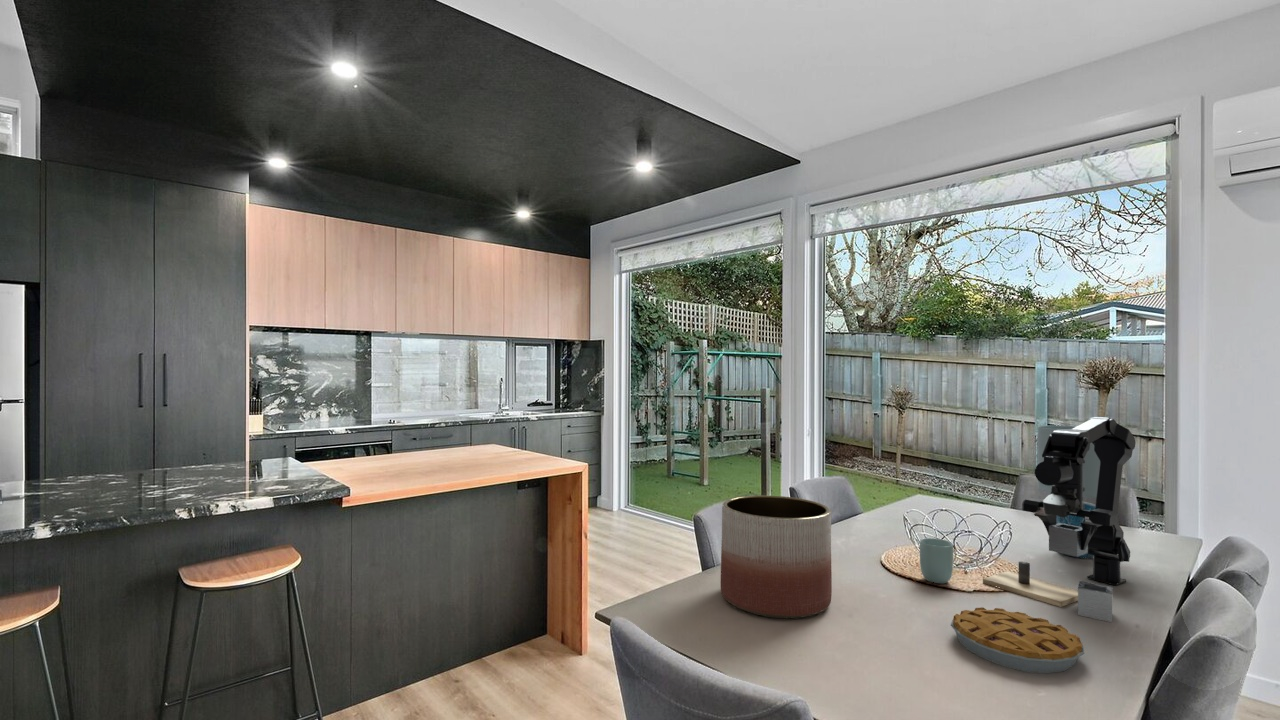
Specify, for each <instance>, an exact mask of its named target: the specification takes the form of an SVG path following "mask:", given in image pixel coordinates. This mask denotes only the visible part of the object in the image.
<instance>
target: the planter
mask: <svg viewBox="0 0 1280 720" xmlns="http://www.w3.org/2000/svg"><path fill="white" fill-rule="evenodd" d="M721 520H722V521H721V547H720V548H721V549H720V551H721V552H720V593H721V595H722V597H723V598H724V599H725V601H727V602H728V603H729V604H731V605H733V606H734V607H736V608H738V609H740V610H741V611H744V612H747V613H750V614H753V615H757V616H762V617H765V618H766V617H768V618H775V619H799V618H800V619H801V618H806V617H811V616H815V615H817V614H820V613H821V612H823V611H825V610H826V609H827V608H829V607H830V605H831V603H832V592H833V591H832V590H833V589H832V588H833V587H832V584H833V583H832V580H833V578H832V573H833V572H832V510H831V508H829V506H827V505H826V504H823V503H821V502H816V501H813V500H810V499H803V498H798V497H794V496H793V497H792V496H782V495H745V496H738V497H737V496H736V497H733V498H728V499H726V500H725V501H723V503H722V506H721Z"/></svg>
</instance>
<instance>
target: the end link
mask: <svg viewBox="0 0 1280 720" xmlns="http://www.w3.org/2000/svg"><path fill="white" fill-rule="evenodd" d="M1081 538H1082V527H1079V526H1073V525H1068V524H1063V523H1058V524H1054V525H1050V526H1049V535H1048V551H1051V552H1055V553H1059V554H1062V553H1063V554H1062V555H1064V554H1067V555H1066V556H1068V555H1071V556H1070V557H1072V556H1076V557H1075V558H1077V557H1078V556H1081V555H1084V554H1087V553H1088V545H1087V547H1086V549H1085V550H1082V548H1081Z"/></svg>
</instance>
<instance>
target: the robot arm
mask: <svg viewBox="0 0 1280 720" xmlns="http://www.w3.org/2000/svg"><path fill="white" fill-rule="evenodd" d="M1076 426H1077V427H1075V428H1073V429H1061V430H1055V431H1053V432H1052V433H1051V435H1050V436H1049V438H1048V441H1047V443H1046V446H1045V449H1044V451H1043V454H1042V457H1044V461H1043V462H1041V463H1039V464H1038V463H1037V465H1036V466H1035V469H1034V476H1035V478H1036V479H1037V482H1038V481H1039V482H1040V483H1042V484H1044V485H1047V486H1052V485H1054V486H1052V489H1051V493H1050V494H1048V495H1047V496H1046V497H1045V498H1044V499H1043V498H1042V499H1041V498H1037V497H1030V498H1026V499H1024V500H1023V501H1022V502H1021V511H1024V512H1027V513H1028V512H1029V513H1033V515H1034V517H1037V518H1039V519H1040V520H1041V521H1042V523H1043V525H1044V528H1045V530H1046V532H1047V535H1048V536H1049V526H1050V525H1054V524H1056V516H1059V517H1067V516H1068V515H1072V516H1077V517H1083V518H1085V522H1082V523H1081V526H1082V538H1081V548H1082V550H1085V549H1086V547H1087V545H1088V553H1087V554H1090V555H1093V558H1092V574H1090V575H1087V576H1086V578H1087V579H1088V580H1093V581H1096V582H1101V583H1105V584H1107V585H1108V584H1109V585H1113V586H1118V585H1121V584H1123V583H1126V582H1127V579H1125V578H1122V577H1121V563H1123V562H1124V563H1125V562H1127V563H1129V562H1130V557H1131V550H1130V548H1129V546H1128V544H1127V542H1126V540H1125V537H1124V536H1125V535H1124V530H1123V529H1122V527H1121V525H1120V524H1119V523H1120V522H1119V521H1120V520H1119V514H1118V512H1119V504H1120V494H1121V485H1122V484H1121V483H1122V476H1123V475H1122V474H1123V467H1124V465H1125V464H1126V463H1127V462H1128V461H1129V460H1130V459H1132V456H1133V451H1134V449H1135V447H1136V445H1137V444H1136V438H1135V436H1134V435H1133V433H1132V432H1131V430H1130V429H1129V428H1126V427H1125V426H1123V425H1120V424H1119V423H1117V421H1116V420H1115V419H1114V418H1111V417H1105V416H1103V417H1102V416H1093V417H1089V418H1088V420H1087V421H1085V422H1083V423H1081V424H1079V425H1076ZM1090 443H1093V444H1094V451H1095V453H1096V455H1097V457H1098V458H1099V460H1100V469H1099V478H1098V487H1097V496H1096V498H1095V499H1096V500H1095V510H1091V511H1088V510H1083V509H1084V508H1085V504H1083V502H1084V501H1083V499H1084V497H1083V492H1084V491H1085V487H1083V465H1082V464H1084V463H1085V460H1084V459H1083V458H1085V456H1086V453H1087V452H1088V451H1089V450H1090Z"/></svg>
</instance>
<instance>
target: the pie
mask: <svg viewBox="0 0 1280 720" xmlns="http://www.w3.org/2000/svg"><path fill="white" fill-rule="evenodd" d="M950 627H951V628H952V629H953V630H954V632H955V634H956V637H957V639H958V641H959V642H960V643H961V645H962V646H963V647H964V648H966V650H969V651H970V652H972V653H973V654H975V655H976V656H979V657H980V658H981V659H984V660H986V661H989V662H992V663H995V664H997V665H1000V666H1002V667H1005V668H1009V669H1014V670H1017V671H1021V672H1024V673H1037V674H1051V673H1059V672H1065V671H1067V670H1068V669H1070V668H1071V667H1073V666H1074V665H1075V664H1076V662H1077V661H1078V660H1079V658H1080V657H1081V656H1084V654H1085V646H1084V643H1083V642H1082V641H1081V638H1080V637H1079V636H1078V635H1077V634H1073V633H1071V632H1069V630H1068V629H1067V628H1065V627H1064V626H1062V625H1061V624H1056V625H1055V624H1054V623H1053V624H1052V623H1050V622H1049V619H1045V618H1042V617H1034V616H1033V617H1032V616H1030V615H1028V614H1027V613H1025V612H1020V611H1015V612H1014V611H1007V610H1006V609H1004V608H999V607H996V608H994V609H986V608H985V607H983V606H982V607H975V608H974V610H968V609H964V610H961V611H960V613H959V614H958V613H954V615H953V619H952V621H951V623H950Z"/></svg>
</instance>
